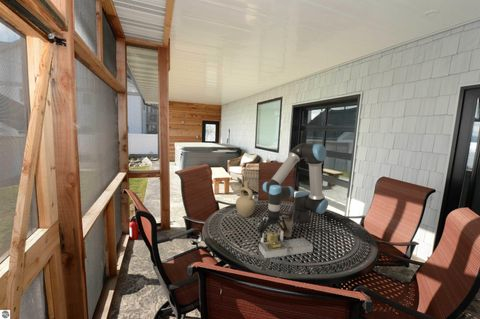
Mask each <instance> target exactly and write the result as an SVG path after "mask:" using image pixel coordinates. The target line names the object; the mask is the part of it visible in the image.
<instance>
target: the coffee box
mask: <svg viewBox="0 0 480 319" xmlns="http://www.w3.org/2000/svg"><path fill="white" fill-rule="evenodd" d="M280 216H283V217H284V221H285V224H286V226H287V229H288V230H286V231H285V234H284V236H283V237H286V238H291V237H292V232H293V221H294V220H293V211H289V210H288V211H287V210H283V209H280ZM280 216H279V217H280ZM279 223H280V224H281V225H282V227H283V228H284V226H283V224H282V221H281V219H279ZM277 229H278V231H277V235H278V236H280V232H281V230H282V229H281V228H280V226H279V225H278V228H277Z"/></svg>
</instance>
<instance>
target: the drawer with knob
mask: <svg viewBox="0 0 480 319" xmlns="http://www.w3.org/2000/svg"><path fill="white" fill-rule="evenodd" d="M278 241H279V240H278ZM278 241H277V240H275V241H269V249H277V248H281V244H280V243H279V242H278Z"/></svg>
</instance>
